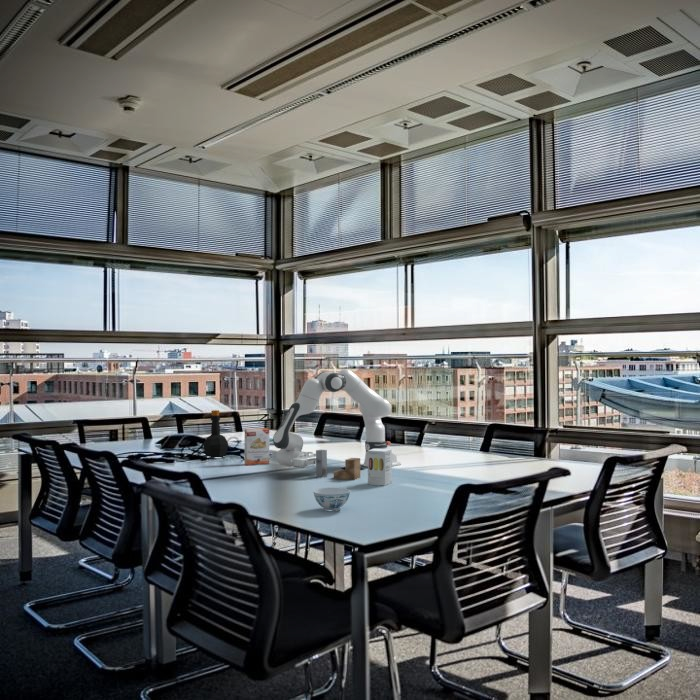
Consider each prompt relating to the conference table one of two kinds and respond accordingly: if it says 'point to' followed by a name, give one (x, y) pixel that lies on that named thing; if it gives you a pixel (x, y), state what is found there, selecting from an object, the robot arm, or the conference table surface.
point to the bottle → (215, 438)
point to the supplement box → (379, 466)
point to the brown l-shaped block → (349, 470)
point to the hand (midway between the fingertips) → (320, 461)
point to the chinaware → (331, 497)
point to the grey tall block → (321, 463)
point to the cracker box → (256, 446)
